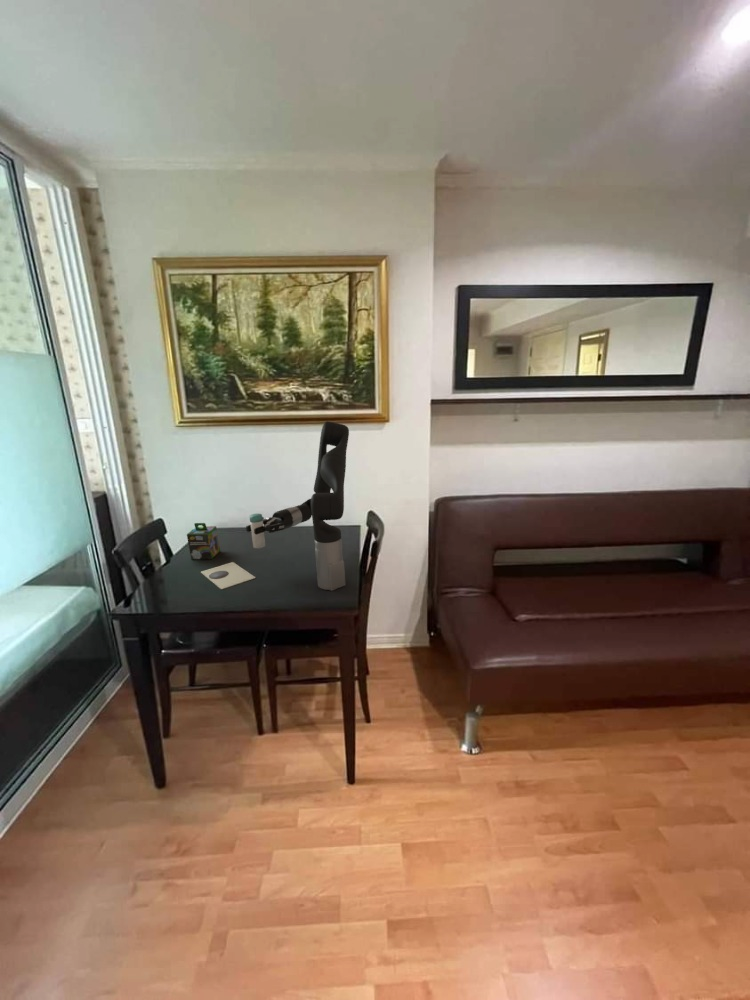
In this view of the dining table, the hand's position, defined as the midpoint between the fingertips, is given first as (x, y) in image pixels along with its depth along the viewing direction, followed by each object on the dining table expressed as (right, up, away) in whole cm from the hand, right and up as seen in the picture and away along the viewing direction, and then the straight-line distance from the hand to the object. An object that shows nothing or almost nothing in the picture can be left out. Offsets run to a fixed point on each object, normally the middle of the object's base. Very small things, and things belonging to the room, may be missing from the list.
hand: (251, 530), depth 159 cm
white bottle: (+2, -6, +4) cm, 8 cm away
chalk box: (-26, -13, +26) cm, 39 cm away
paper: (-11, -17, +6) cm, 21 cm away
